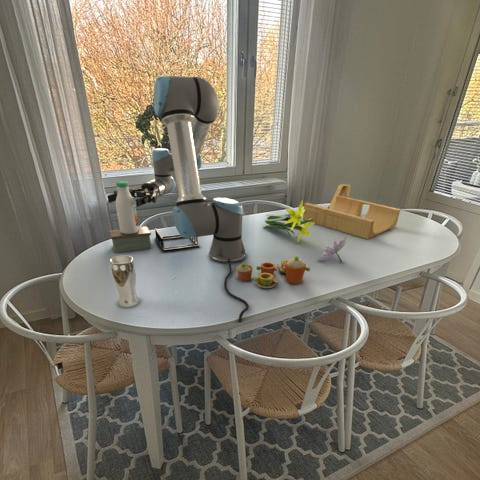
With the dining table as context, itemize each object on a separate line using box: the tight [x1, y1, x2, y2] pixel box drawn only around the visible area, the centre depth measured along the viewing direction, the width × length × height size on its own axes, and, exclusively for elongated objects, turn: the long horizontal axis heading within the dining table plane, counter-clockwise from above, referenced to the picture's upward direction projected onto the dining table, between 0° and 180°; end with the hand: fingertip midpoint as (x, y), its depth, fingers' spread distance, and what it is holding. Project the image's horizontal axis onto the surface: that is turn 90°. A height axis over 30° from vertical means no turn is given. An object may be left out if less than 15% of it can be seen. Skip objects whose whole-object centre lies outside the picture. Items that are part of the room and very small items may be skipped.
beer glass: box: [109, 254, 140, 308], centre depth 107 cm, size 7×7×15 cm
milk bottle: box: [115, 180, 140, 234], centre depth 141 cm, size 8×8×20 cm
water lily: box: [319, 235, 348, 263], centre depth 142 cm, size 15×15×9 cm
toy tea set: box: [236, 255, 311, 289], centre depth 125 cm, size 26×16×10 cm, turn 112°
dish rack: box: [154, 227, 200, 253], centre depth 154 cm, size 17×16×6 cm
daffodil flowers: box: [262, 200, 316, 243], centre depth 163 cm, size 17×15×35 cm
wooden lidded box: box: [108, 226, 152, 254], centre depth 148 cm, size 9×16×7 cm, turn 114°
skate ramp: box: [302, 180, 402, 240], centre depth 184 cm, size 40×35×16 cm
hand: (122, 201), depth 138 cm, fingers open, 13 cm apart
